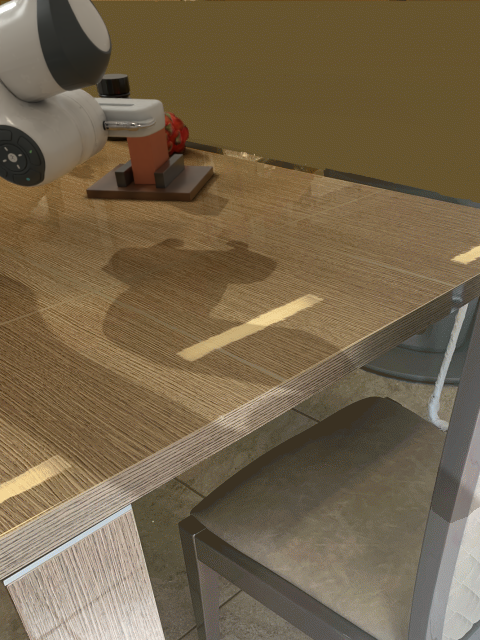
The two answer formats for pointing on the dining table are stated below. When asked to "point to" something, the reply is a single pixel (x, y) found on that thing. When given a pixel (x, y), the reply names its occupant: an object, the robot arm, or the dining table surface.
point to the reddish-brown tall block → (147, 156)
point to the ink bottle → (114, 90)
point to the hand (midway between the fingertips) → (110, 103)
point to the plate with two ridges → (169, 184)
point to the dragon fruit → (175, 133)
